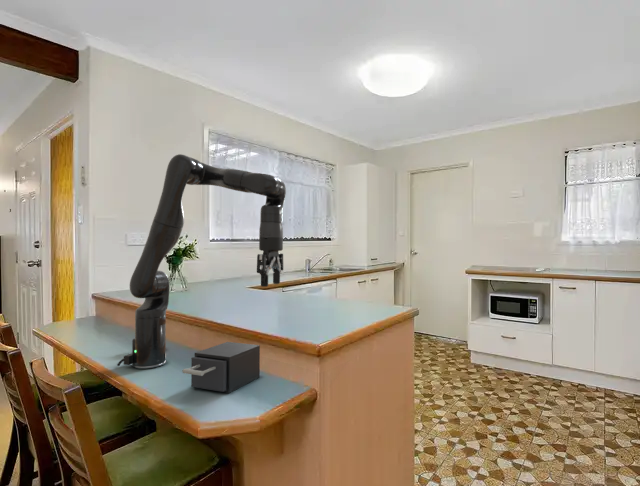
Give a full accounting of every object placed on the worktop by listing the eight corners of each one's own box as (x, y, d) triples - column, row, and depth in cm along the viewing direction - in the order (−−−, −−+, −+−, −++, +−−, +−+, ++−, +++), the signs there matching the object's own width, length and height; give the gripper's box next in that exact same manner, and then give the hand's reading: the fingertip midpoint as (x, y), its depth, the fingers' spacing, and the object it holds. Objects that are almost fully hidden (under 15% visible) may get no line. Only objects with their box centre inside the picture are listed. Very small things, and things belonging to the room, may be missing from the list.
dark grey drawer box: (229, 393, 104) (229, 357, 104) (194, 387, 108) (194, 352, 108) (259, 377, 117) (259, 345, 117) (227, 372, 121) (227, 341, 121)
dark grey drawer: (208, 399, 97) (208, 368, 97) (175, 393, 101) (175, 363, 101) (252, 377, 114) (252, 350, 114) (222, 372, 118) (222, 346, 118)
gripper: (270, 236, 128) (270, 282, 128) (249, 235, 114) (249, 287, 114) (290, 237, 127) (290, 283, 127) (271, 235, 113) (271, 287, 113)
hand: (270, 285), depth 121 cm, fingers open, 8 cm apart
